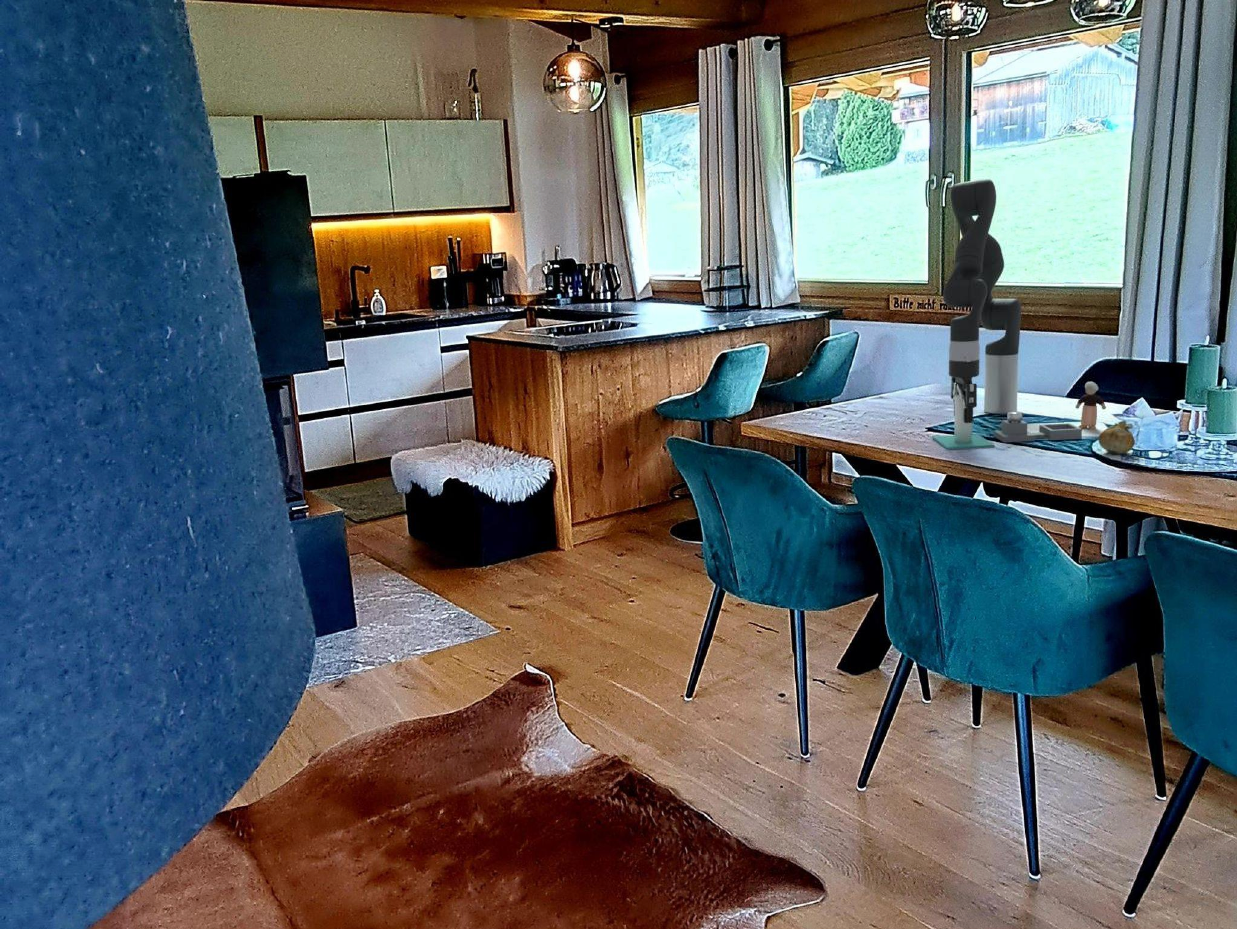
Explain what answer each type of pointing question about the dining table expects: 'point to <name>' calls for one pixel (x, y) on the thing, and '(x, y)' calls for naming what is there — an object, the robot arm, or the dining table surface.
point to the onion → (1117, 438)
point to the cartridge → (961, 423)
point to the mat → (975, 443)
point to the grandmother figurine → (1090, 406)
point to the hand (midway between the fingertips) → (963, 419)
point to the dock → (1050, 431)
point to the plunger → (1014, 417)
